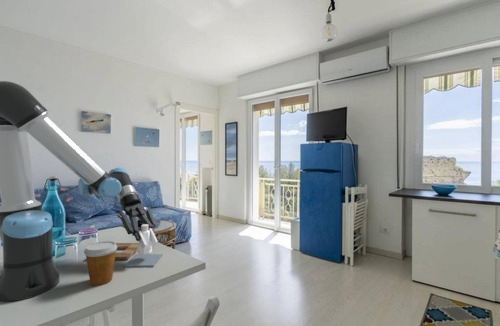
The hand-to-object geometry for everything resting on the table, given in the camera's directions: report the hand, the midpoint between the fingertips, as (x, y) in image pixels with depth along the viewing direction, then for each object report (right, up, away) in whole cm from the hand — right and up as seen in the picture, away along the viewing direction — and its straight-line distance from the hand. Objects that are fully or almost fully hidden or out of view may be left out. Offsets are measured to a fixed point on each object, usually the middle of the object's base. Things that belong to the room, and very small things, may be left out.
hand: (150, 245), depth 98 cm
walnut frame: (-19, -7, +11) cm, 22 cm away
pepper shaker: (-3, -4, +2) cm, 6 cm away
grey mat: (-3, -7, +2) cm, 8 cm away
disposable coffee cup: (-11, -8, -14) cm, 19 cm away
